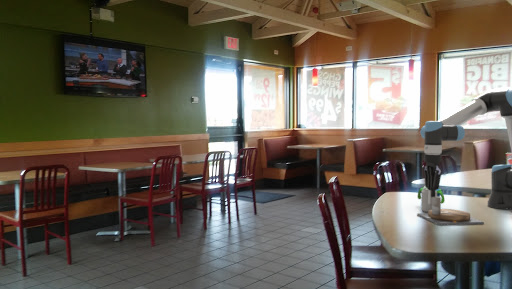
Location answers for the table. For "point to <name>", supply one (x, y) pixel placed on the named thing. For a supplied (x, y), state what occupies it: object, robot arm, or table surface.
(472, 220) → the dial base
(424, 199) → the can
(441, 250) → the table surface
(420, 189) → the snack cup
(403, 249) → the table surface
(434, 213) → the dial
